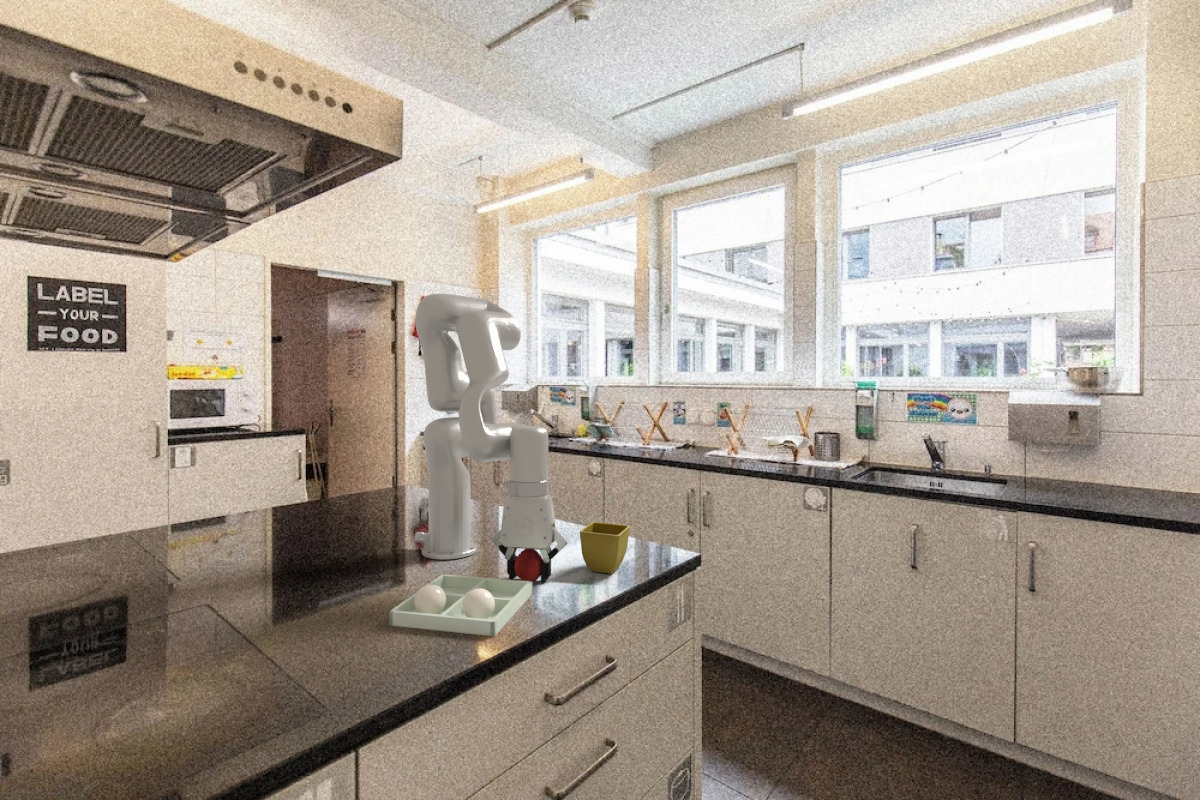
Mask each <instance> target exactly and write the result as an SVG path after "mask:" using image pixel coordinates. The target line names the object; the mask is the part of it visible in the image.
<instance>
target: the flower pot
mask: <svg viewBox="0 0 1200 800" xmlns="http://www.w3.org/2000/svg"><path fill="white" fill-rule="evenodd" d="M630 530H631V526H630V525H626V524H618V523H609V522H607V523H606V522H598V521H597V522H596V521H593V522H590V524H588V525H586V526H585V527H584V528H582V529H581V530H580V531H579V537H580V548H581V555H582V558H583V560H584V563H585V565H586V566H587V568H588V570H589V571H590V572H596V573H603V574H610V575H611V574H614V573H615V572H616V571H617V569H619V567H620V566H621V564H622V562H623V561H624V557H625V556H626V553H627V550H628V545H629V537H630V536H629V535H630Z"/></svg>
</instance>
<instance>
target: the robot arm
mask: <svg viewBox="0 0 1200 800" xmlns="http://www.w3.org/2000/svg"><path fill="white" fill-rule="evenodd" d="M415 328H416V333H417V336H418V340H419V342H420V346H421V350H422V354H423V360H424V361H423V362H424V375H425V385H426V387H425V388H426V396H427V402H428V404H429V405H428V406H430V408H431V409H432V410H434V411H436V412H441V413H444V412H445V413H448V412H450V413H451V412H458V416H452V417H441V418H437V419H434V420H432V421H431V422H429V423H428V424H427V426H426V427H425V428H424V431H423V444H424V450H425V455H426V460H427V462H426V463H427V477H428V532H424V531H423V532H422V531H417V532H415V534H414V538H413V539H414V540H413V541H414V543H423V544H424V545H423V547H422V549H421V555H422V556H423V557H424V558H427V559H431V560H455V559H456V560H457V559H462V558H466V557H469V556H472V555H474V554H476V552H477V551H478V544H477V543H476V542H474V541H472V539H471V538H472V537H471V535H472V534H471V533H472V532H471V528H472V527H471V524H472V523H471V522H472V521H471V520H472V519H471V518H472V517H471V511H472V509H471V502H472V501H471V499H472V498H471V497H472V496H471V494H472V493H471V474H470V472H469V470H468V468H467V467H466V465H465V464H464V462H463V461H462V458H467V457H470V458H471V459H472V460H473V461H475V462H479V463H488V462H497V461H504V460H505V461H507V460H509V479H508V481H504V482H503V485H502V487H503V489H504V490H505V489H506V490H508V493H509V494H508V495H506V496H505V498H504V504H503V510H502V516H501V517H502V518H501V527H500V528H501V529H500V530H498V532H496V534H495V535H493V536H492V538H491V542H492V543H493V544H494V545H495V547H497V548H498V550H499V552H501V555H503V556H504V559H505V560H506V570H507V571H506V574H507V575H508V580H515V579H516V577H518V576H517V575H516V573H515V569H514V563H515V560H516V558H517V556H518V555H516V553H517V550H518V549H523V550H525V549H534V550H536V551H537V550H539V552H540V555H541V557H542V558H543V562H542V563H541V576H540V582H541V583H543V584H545V583H546V582H547V581H548V579H549V578H550V577H552V559H553V558H554V557H555V556H556V555H558V553H560V552H561V551H562V550H563V549H564V548H565V547H567V545H568V541H567V540H566V539H565V538H564V536H562V534H561V533H560V532H559V531H558V530H557V529H556V517H555V515H556V514H555V509H554V503H553V498H552V495H551V494H549V432H548V429H546V428H545V427H543V426H539V425H528V424H524V423H521V422H508V423H506V422H505V423H504V422H503V423H502V422H501V423H499V422H498V421H497V410H496V408H497V407H496V399H495V398H496V396H495V389H496V388H497V387H500V385H502V384H504V383H505V382H506V381H507V380H508V378H509V376H510V372H509V367H508V364H507V361H506V358H505V357H506V356H505V353H504V351H511V350H514V349H515V348H517V347H518V346H519V344H520V341H521V338H522V336H521V335H522V333H521V327H520V324H519V322H518V320H517V319H516V317H515V316H514V315H513V314H511V312H509V311H507V310H506V309H504V308H502V307H501V306H499V305H497V304H495V303H494V302H492V301H491V300H488V299H485V298H481V297H474V296H473V297H472V296H463V295H457V294H451V293H431V294H428V295H426V296H424V297H423V298H422V299H421V300H420V301H419V303H418V306H417V308H416V314H415ZM449 332H455V333H457V337H458V341H459V345H460V348H459V346H458V345H457V343H456V342H455V340H454V339H453V338H452V336H450V334H449ZM460 350H461V351H460ZM461 354H462V355H461ZM462 356H463V361H464V365H465V369H466V371H464V368H463V365H462ZM555 542H556V543H557V544H556V546H554V547H553V549H552V548H551V545H552V544H553V543H555Z"/></svg>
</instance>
